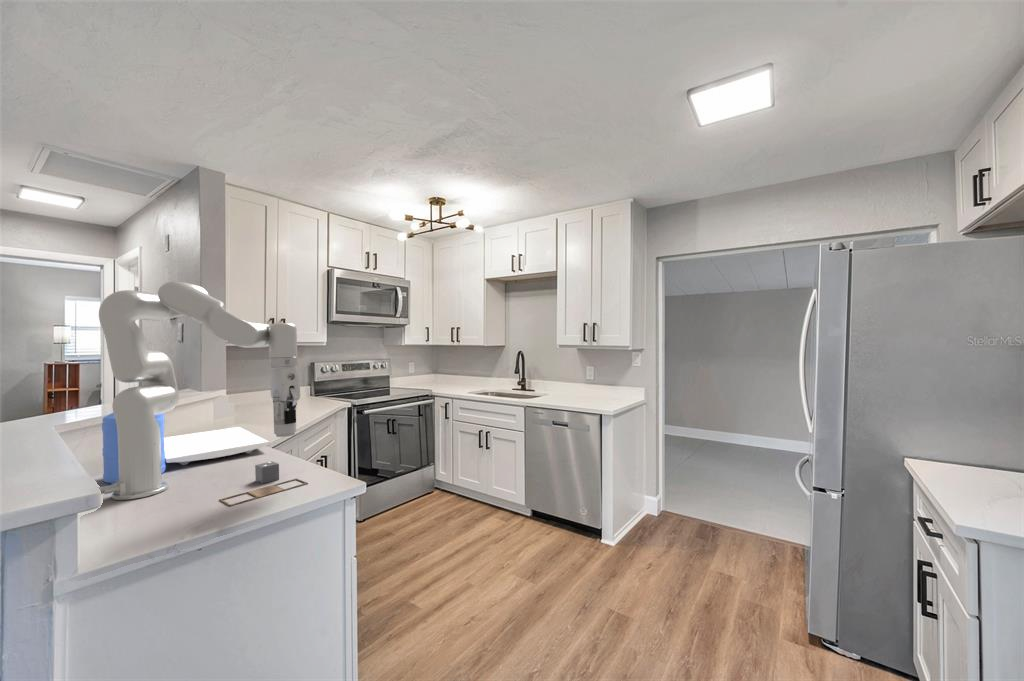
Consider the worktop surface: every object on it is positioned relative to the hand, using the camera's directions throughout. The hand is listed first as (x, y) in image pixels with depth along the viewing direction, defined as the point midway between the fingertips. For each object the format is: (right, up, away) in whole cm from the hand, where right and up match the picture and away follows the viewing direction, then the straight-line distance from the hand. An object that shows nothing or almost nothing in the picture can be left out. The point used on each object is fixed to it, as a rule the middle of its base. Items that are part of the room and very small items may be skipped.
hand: (285, 421), depth 129 cm
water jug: (-57, -21, +12) cm, 62 cm away
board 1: (-55, -21, +44) cm, 74 cm away
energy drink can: (0, -4, 0) cm, 4 cm away
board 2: (-3, -20, -5) cm, 21 cm away
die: (-9, -20, +6) cm, 23 cm away
